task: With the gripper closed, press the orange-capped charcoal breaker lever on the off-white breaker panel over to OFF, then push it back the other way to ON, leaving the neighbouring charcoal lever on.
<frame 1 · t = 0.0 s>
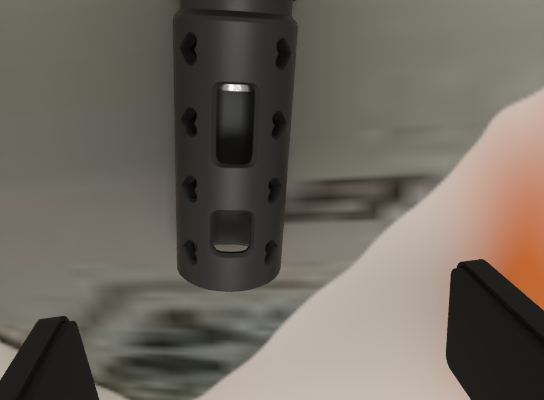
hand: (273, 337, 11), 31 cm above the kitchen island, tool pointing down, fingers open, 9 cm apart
muzzle brake: (231, 93, 40), on the kitchen island
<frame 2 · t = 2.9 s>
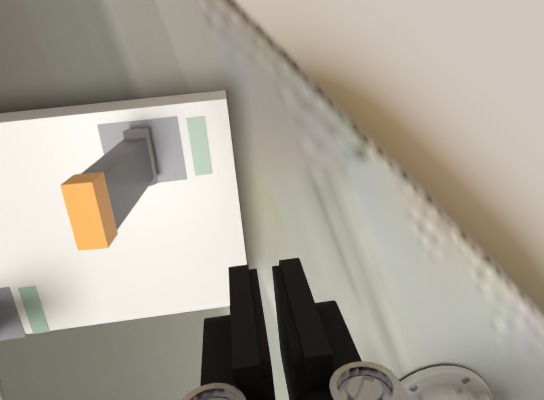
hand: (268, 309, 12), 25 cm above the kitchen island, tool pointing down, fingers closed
breaker panel: (90, 205, 37), on the kitchen island
tripped lever: (120, 179, 25), point 11 cm above the kitchen island, hinge at 5.0°
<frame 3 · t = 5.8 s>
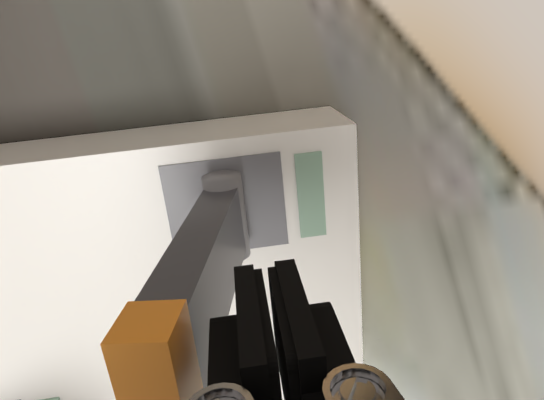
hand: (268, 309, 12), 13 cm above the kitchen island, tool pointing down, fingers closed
breaker panel: (133, 268, 26), on the kitchen island
tripped lever: (203, 273, 15), point 11 cm above the kitchen island, hinge at 10.4°, touching gripper
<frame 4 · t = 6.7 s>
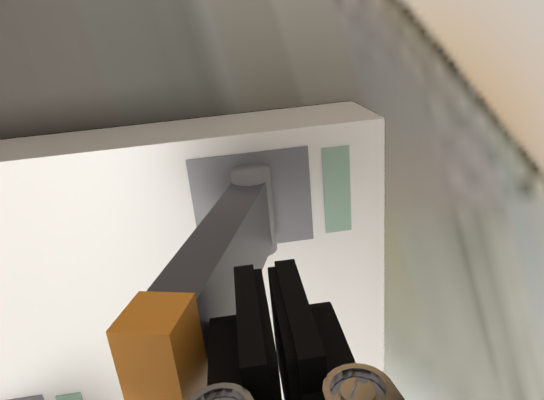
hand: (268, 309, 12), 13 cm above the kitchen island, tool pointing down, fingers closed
breaker panel: (152, 263, 26), on the kitchen island
tripped lever: (223, 266, 15), point 11 cm above the kitchen island, hinge at 17.2°, touching gripper
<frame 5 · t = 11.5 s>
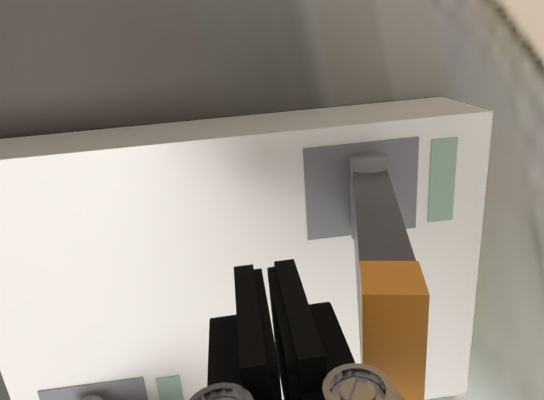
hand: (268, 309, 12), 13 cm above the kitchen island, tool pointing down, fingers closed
breaker panel: (238, 252, 27), on the kitchen island
tripped lever: (377, 246, 15), point 11 cm above the kitchen island, hinge at 14.2°, touching gripper
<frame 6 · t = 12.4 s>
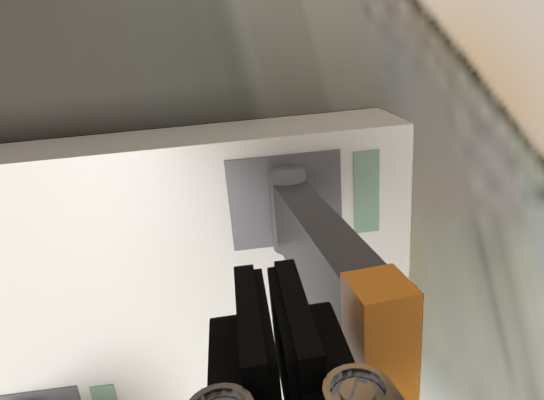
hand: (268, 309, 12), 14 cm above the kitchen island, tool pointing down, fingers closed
breaker panel: (180, 261, 27), on the kitchen island
tripped lever: (321, 256, 15), point 11 cm above the kitchen island, hinge at -6.3°, touching gripper
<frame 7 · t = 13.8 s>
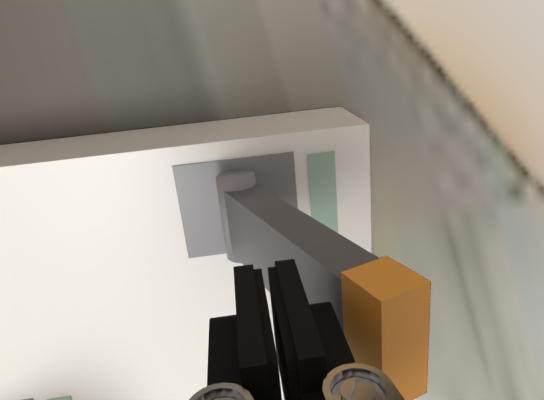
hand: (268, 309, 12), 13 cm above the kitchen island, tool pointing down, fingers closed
breaker panel: (143, 267, 26), on the kitchen island
tripped lever: (293, 259, 15), point 11 cm above the kitchen island, hinge at -20.3°
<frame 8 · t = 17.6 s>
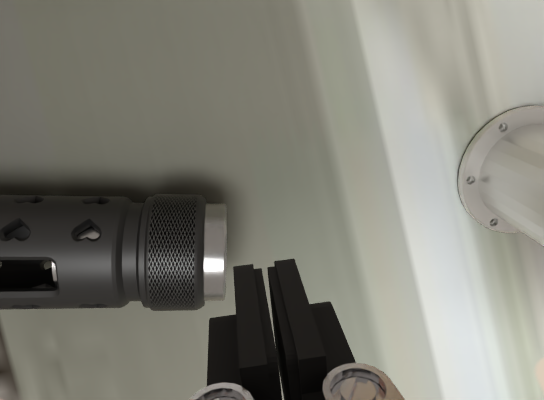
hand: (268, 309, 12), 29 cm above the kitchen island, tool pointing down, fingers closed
muzzle brake: (72, 222, 41), on the kitchen island
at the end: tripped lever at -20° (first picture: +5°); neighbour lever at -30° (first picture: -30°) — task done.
